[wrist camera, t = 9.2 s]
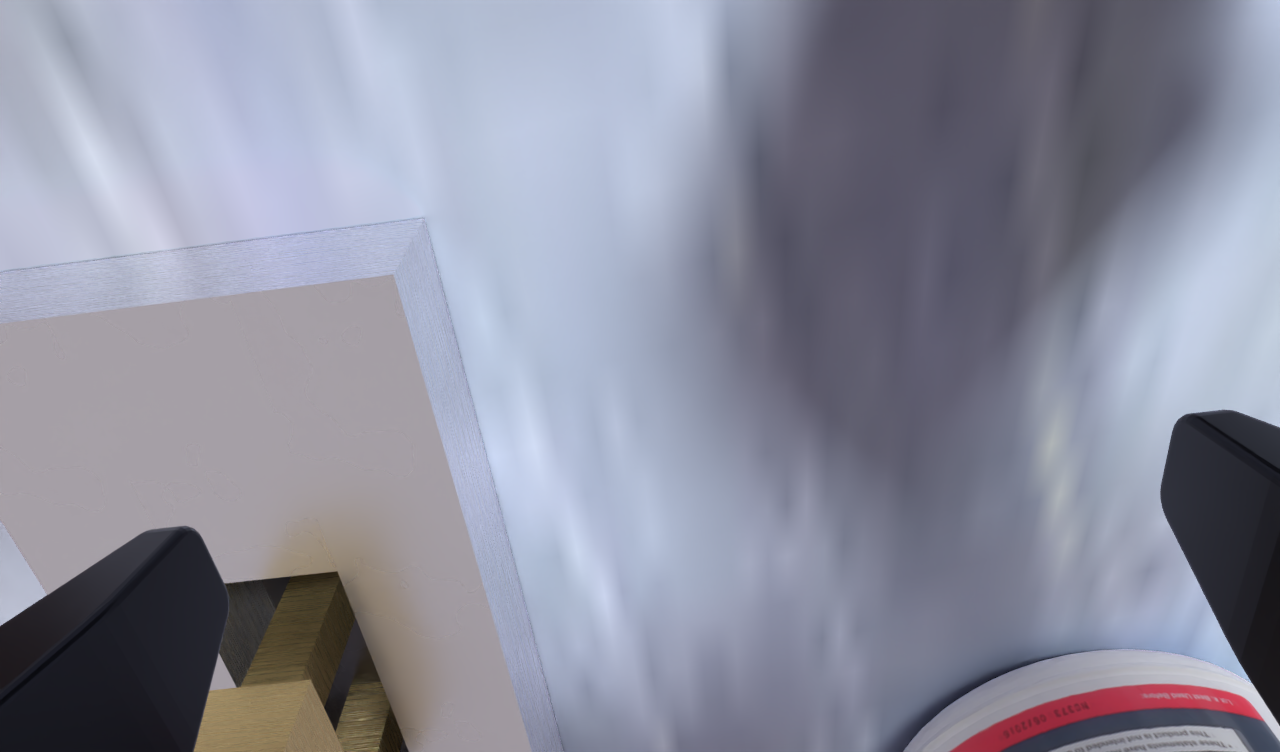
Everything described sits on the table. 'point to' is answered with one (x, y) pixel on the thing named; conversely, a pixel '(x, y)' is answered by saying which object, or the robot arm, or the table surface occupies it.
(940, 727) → the supplement tub
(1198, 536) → the robot arm
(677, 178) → the table surface
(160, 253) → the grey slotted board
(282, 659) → the tan pronged block
